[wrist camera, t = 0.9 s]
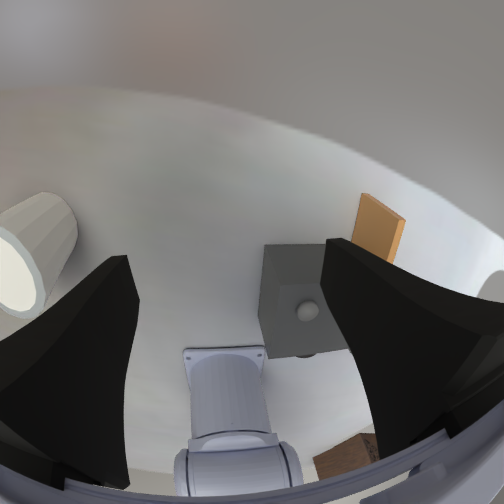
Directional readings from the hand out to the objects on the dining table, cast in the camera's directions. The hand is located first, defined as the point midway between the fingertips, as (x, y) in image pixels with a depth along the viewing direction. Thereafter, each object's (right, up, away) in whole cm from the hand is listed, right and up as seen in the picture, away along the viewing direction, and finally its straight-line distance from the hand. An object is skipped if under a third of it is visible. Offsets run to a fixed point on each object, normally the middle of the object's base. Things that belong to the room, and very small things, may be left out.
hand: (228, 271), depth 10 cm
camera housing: (+5, -2, +13) cm, 14 cm away
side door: (+9, 0, +13) cm, 16 cm away
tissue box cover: (+30, -52, +47) cm, 77 cm away
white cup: (-15, +3, +7) cm, 17 cm away
